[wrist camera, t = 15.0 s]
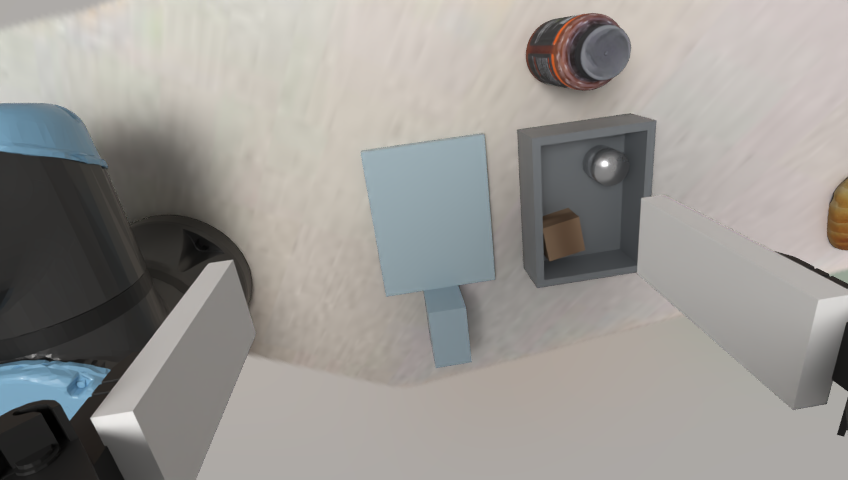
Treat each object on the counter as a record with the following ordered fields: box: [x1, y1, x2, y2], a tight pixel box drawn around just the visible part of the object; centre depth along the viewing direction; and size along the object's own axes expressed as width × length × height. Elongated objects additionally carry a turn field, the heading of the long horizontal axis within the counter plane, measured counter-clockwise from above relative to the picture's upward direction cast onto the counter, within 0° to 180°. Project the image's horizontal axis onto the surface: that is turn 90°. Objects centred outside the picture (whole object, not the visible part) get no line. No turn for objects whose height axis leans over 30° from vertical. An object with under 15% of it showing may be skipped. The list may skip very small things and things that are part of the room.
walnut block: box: [543, 208, 585, 261], centre depth 52 cm, size 4×4×3 cm
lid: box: [361, 133, 495, 368], centre depth 50 cm, size 13×24×6 cm, turn 7°
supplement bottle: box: [526, 13, 631, 90], centre depth 41 cm, size 6×6×11 cm
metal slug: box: [583, 145, 629, 186], centre depth 49 cm, size 4×4×3 cm
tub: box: [517, 114, 656, 288], centre depth 50 cm, size 12×16×5 cm
